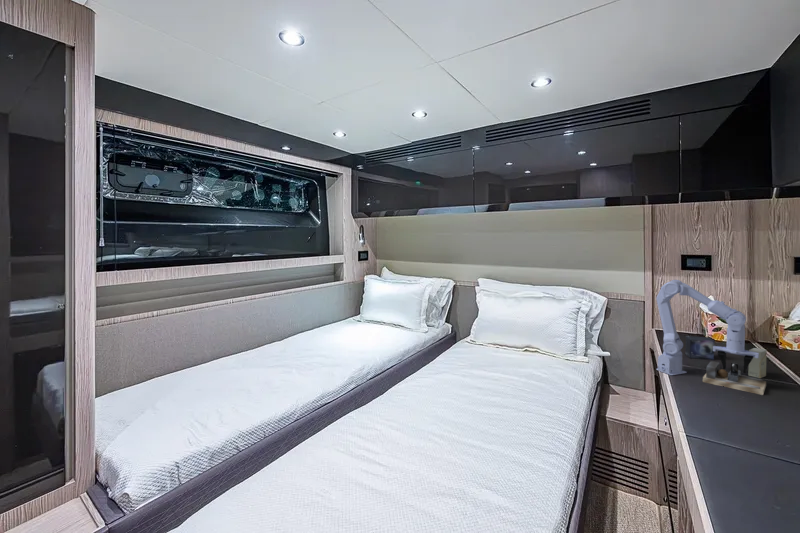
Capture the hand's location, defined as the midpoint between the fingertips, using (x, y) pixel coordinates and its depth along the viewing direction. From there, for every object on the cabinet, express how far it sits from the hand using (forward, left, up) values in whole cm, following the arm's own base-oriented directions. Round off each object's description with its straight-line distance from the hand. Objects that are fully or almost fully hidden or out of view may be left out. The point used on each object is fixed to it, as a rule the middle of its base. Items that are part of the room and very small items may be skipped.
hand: (734, 370), depth 156 cm
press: (0, 0, -6) cm, 6 cm away
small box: (+20, +29, -6) cm, 36 cm away
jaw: (0, 0, -4) cm, 4 cm away
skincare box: (+19, +3, -6) cm, 20 cm away
